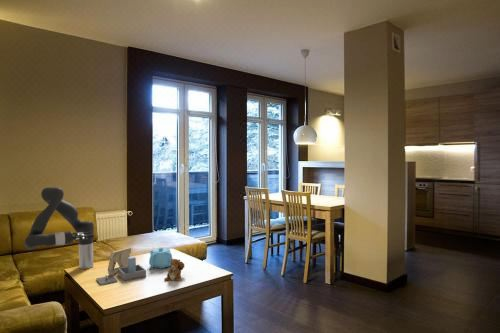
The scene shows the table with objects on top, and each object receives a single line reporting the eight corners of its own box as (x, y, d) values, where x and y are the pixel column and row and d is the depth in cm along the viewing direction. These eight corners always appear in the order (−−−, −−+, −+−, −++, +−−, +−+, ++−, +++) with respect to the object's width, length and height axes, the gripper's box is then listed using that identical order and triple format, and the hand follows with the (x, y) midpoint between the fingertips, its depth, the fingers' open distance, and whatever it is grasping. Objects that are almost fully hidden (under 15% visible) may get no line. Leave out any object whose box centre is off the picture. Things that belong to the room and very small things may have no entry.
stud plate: (96, 280, 225) (96, 274, 225) (112, 276, 231) (112, 271, 231) (100, 285, 215) (100, 279, 215) (117, 281, 221) (117, 275, 221)
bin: (118, 275, 235) (118, 268, 234) (139, 271, 243) (139, 264, 242) (124, 281, 222) (124, 274, 222) (146, 276, 230) (146, 270, 230)
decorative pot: (173, 262, 262) (172, 244, 261) (172, 269, 246) (172, 249, 246) (150, 264, 259) (150, 245, 258) (148, 270, 243) (148, 251, 243)
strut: (128, 274, 233) (127, 257, 233) (134, 273, 235) (133, 256, 235) (129, 276, 230) (129, 258, 229) (136, 274, 232) (135, 257, 232)
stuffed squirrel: (163, 281, 221) (162, 260, 221) (172, 274, 235) (172, 254, 234) (178, 282, 219) (177, 261, 219) (186, 275, 233) (186, 255, 232)
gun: (111, 276, 232) (112, 253, 233) (106, 275, 233) (107, 253, 234) (131, 268, 256) (131, 247, 257) (126, 267, 257) (127, 247, 258)
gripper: (65, 234, 207) (94, 230, 216) (61, 230, 218) (90, 227, 228) (65, 246, 207) (94, 242, 216) (62, 242, 219) (90, 238, 228)
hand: (92, 234), depth 222 cm, fingers open, 8 cm apart
